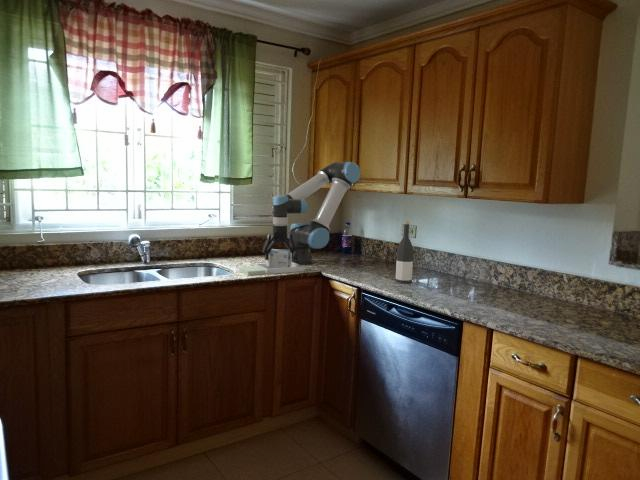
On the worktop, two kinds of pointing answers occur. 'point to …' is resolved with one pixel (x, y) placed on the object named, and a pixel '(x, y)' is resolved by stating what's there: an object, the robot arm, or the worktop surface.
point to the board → (251, 270)
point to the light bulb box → (279, 258)
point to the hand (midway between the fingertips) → (279, 265)
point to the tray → (292, 268)
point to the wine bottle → (404, 258)
